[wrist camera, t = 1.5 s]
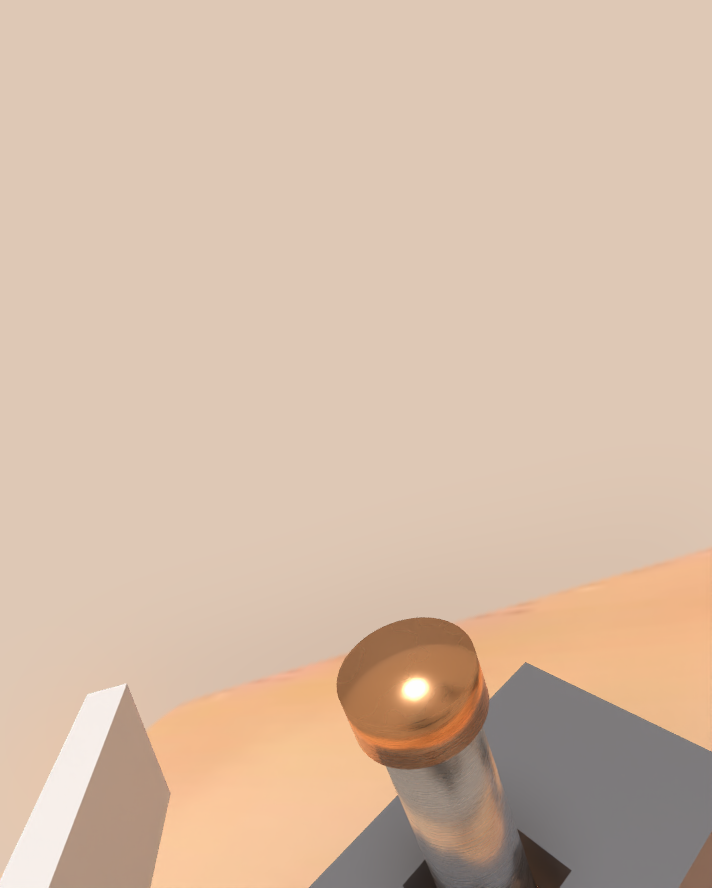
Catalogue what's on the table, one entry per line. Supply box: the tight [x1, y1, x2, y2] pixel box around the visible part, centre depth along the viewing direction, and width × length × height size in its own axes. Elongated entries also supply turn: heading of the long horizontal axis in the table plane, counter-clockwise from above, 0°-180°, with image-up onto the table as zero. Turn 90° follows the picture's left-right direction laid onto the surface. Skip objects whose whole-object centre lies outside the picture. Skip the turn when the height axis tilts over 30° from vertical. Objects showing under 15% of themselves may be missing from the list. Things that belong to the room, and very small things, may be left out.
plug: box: [337, 618, 536, 888], centre depth 24 cm, size 5×5×16 cm
